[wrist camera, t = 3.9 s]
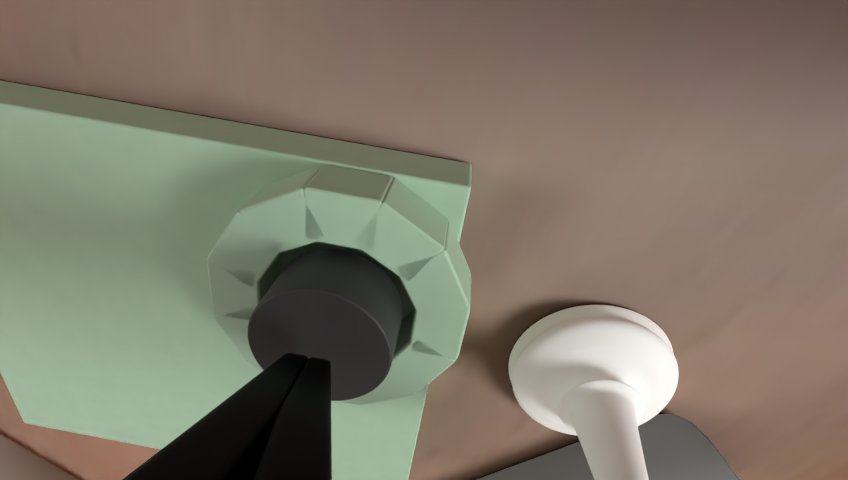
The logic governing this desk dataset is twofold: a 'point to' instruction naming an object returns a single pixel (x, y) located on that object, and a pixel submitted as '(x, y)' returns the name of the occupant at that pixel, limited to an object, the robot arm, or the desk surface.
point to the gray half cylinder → (662, 448)
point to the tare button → (331, 319)
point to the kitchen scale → (206, 265)
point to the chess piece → (596, 381)
